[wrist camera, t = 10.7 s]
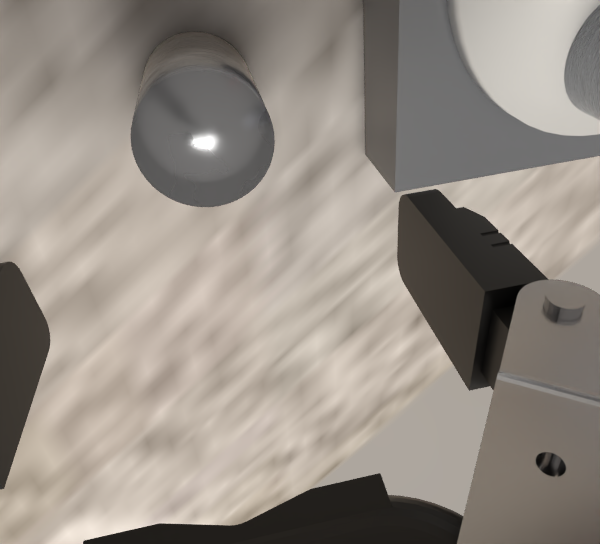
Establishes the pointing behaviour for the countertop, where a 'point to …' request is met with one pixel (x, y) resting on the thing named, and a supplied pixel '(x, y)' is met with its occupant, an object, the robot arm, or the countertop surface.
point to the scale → (471, 88)
